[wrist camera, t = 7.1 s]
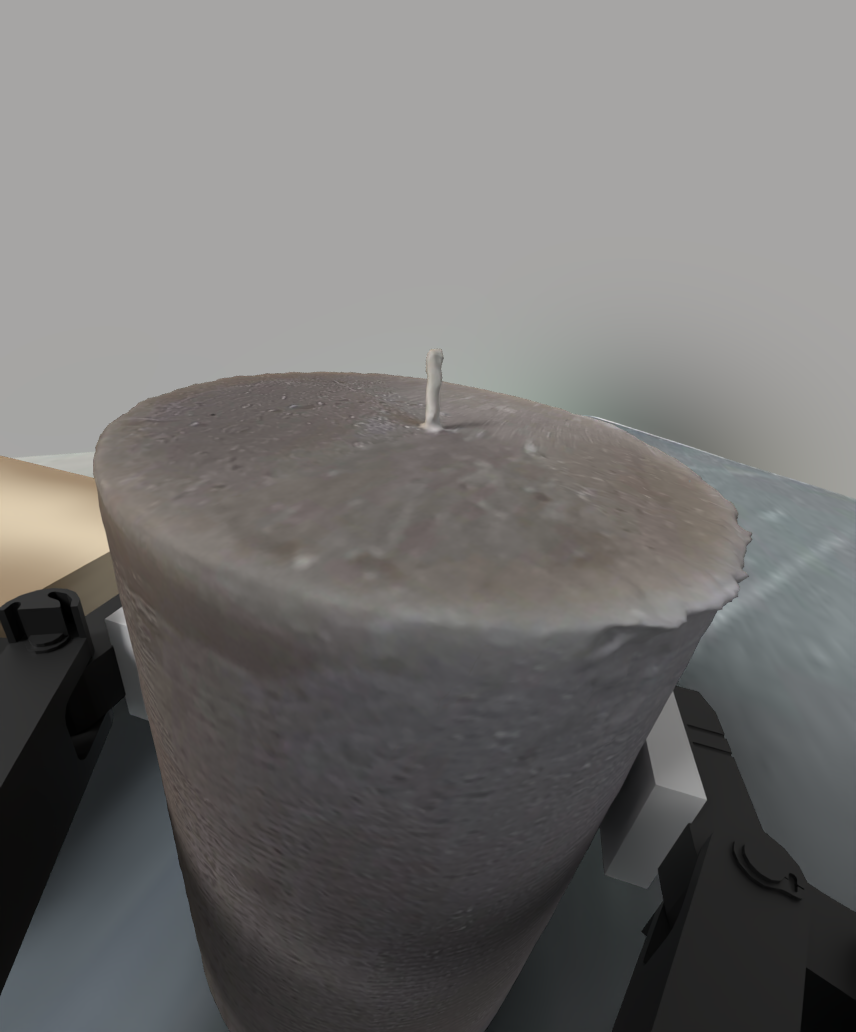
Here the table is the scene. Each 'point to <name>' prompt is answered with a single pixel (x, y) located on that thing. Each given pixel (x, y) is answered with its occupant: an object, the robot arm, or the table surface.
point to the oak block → (52, 535)
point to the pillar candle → (395, 671)
